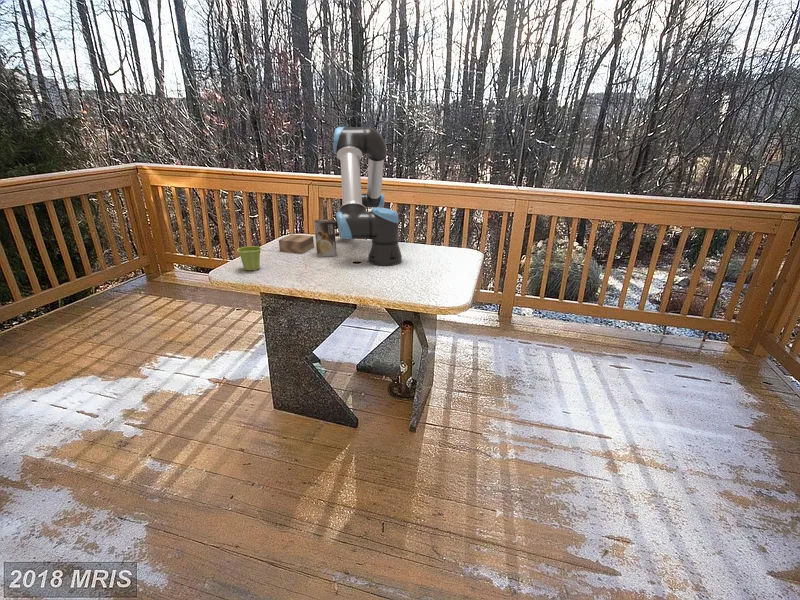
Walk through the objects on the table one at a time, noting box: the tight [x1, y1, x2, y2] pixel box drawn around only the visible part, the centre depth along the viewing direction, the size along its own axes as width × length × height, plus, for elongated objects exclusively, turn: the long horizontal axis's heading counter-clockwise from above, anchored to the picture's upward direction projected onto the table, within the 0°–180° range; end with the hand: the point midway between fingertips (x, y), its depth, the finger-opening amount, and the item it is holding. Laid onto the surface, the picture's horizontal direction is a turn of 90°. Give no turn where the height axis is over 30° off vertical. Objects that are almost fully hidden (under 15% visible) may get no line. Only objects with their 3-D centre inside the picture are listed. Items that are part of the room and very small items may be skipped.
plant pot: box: [236, 245, 262, 272], centre depth 163 cm, size 9×9×9 cm
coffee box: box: [313, 219, 337, 258], centre depth 183 cm, size 9×6×16 cm
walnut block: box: [278, 233, 315, 255], centre depth 192 cm, size 12×12×6 cm
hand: (332, 231), depth 191 cm, fingers open, 13 cm apart
